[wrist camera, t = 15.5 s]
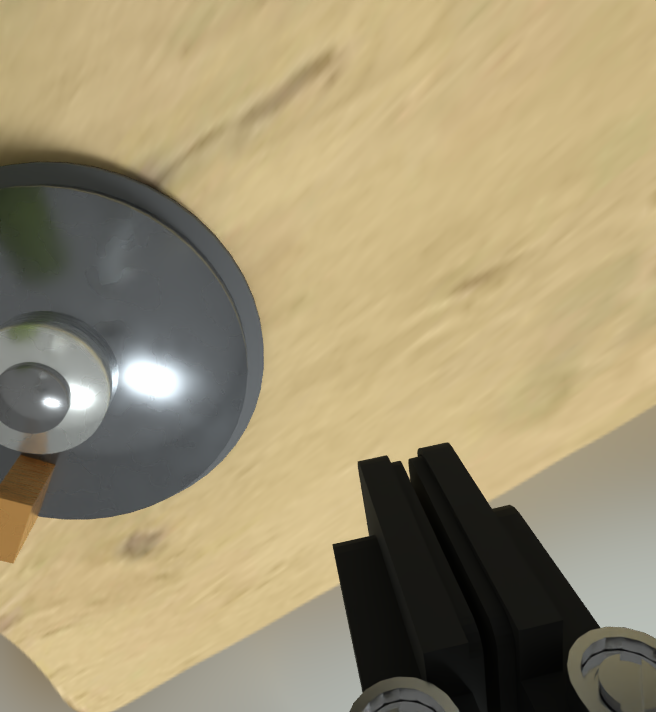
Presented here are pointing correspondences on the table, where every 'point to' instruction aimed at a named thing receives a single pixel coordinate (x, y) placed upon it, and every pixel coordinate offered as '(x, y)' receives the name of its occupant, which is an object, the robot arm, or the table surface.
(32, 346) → the cover
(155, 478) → the turntable
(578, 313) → the table surface
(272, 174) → the table surface
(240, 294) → the turntable base
